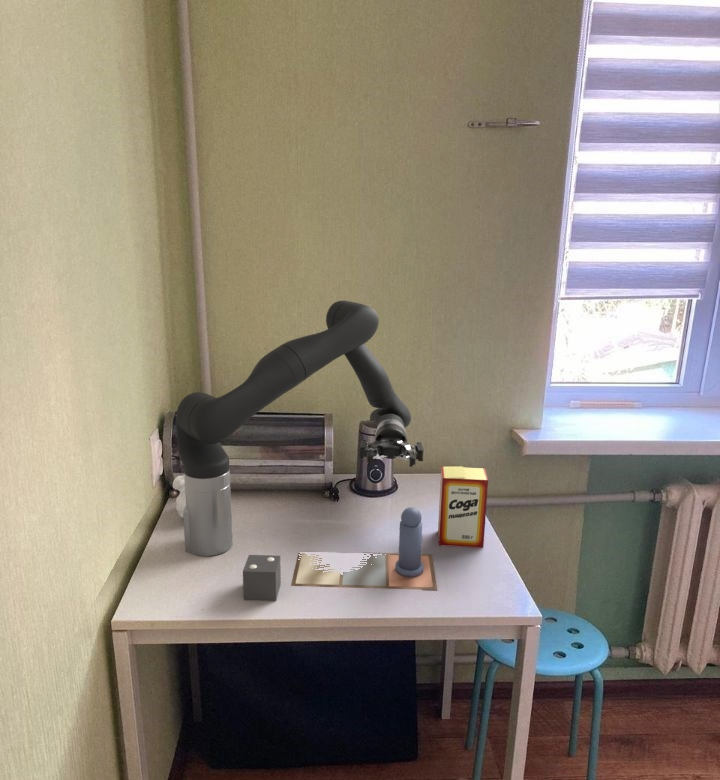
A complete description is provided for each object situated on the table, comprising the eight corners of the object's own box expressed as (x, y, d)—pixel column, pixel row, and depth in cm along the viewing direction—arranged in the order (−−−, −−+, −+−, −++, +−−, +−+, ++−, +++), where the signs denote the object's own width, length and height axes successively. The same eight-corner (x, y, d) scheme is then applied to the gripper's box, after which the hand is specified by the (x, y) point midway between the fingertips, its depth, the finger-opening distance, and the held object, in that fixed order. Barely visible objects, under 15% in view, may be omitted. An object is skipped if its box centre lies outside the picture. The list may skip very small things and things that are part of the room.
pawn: (395, 577, 131) (397, 514, 127) (395, 562, 136) (396, 501, 133) (424, 578, 131) (427, 514, 127) (422, 563, 136) (425, 502, 132)
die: (243, 600, 122) (242, 570, 121) (249, 582, 128) (248, 554, 127) (276, 601, 122) (275, 571, 121) (280, 583, 128) (280, 555, 126)
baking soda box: (480, 533, 149) (485, 466, 145) (483, 547, 143) (488, 478, 139) (438, 531, 150) (441, 464, 146) (439, 545, 144) (442, 476, 140)
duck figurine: (193, 513, 162) (161, 481, 158) (217, 494, 162) (186, 461, 158) (189, 536, 150) (155, 502, 147) (215, 516, 150) (181, 481, 147)
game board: (290, 588, 127) (290, 585, 127) (298, 553, 140) (298, 550, 140) (437, 592, 127) (437, 589, 127) (431, 556, 140) (431, 554, 140)
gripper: (361, 421, 157) (358, 443, 142) (421, 424, 157) (425, 446, 141) (360, 451, 159) (357, 476, 143) (419, 454, 159) (423, 479, 143)
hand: (391, 461), depth 142 cm, fingers open, 8 cm apart
